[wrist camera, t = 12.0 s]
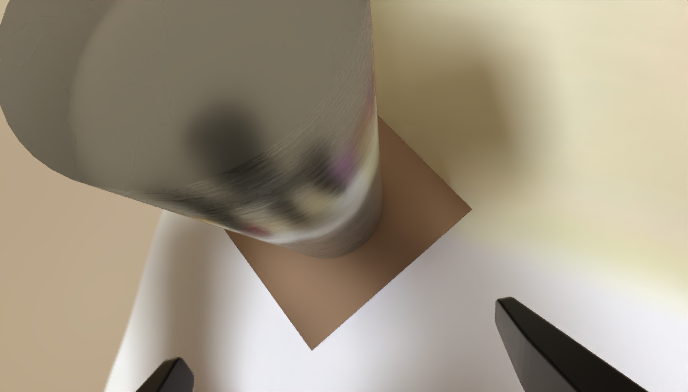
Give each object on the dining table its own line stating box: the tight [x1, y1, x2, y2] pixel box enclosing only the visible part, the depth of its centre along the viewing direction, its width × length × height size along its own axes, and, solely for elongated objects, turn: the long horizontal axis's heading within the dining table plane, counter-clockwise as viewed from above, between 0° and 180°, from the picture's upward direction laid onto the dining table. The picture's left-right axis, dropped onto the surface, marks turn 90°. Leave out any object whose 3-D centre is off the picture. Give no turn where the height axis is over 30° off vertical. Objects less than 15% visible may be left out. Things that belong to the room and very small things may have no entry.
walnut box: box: [224, 115, 472, 350], centre depth 18 cm, size 10×10×3 cm
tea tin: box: [0, 0, 382, 259], centre depth 11 cm, size 6×6×12 cm
